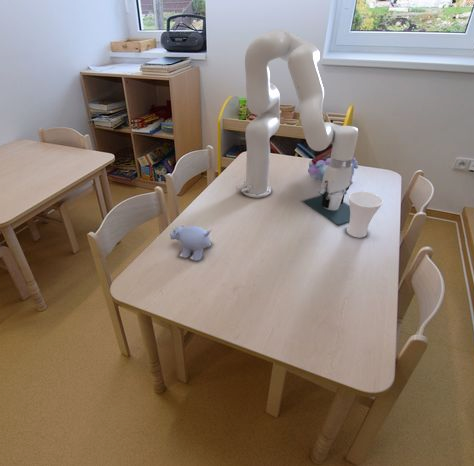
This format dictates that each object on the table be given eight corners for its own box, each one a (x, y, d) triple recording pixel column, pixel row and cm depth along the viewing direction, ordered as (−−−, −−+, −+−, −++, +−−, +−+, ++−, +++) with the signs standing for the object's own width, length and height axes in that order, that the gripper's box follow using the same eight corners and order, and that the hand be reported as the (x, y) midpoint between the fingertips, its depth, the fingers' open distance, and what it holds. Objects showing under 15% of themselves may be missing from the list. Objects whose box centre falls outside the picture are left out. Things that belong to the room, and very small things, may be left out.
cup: (373, 227, 118) (383, 194, 110) (371, 244, 110) (382, 209, 103) (342, 221, 122) (350, 189, 114) (339, 237, 114) (347, 203, 106)
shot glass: (340, 203, 132) (344, 188, 128) (340, 212, 126) (344, 196, 122) (322, 201, 134) (325, 186, 130) (321, 209, 128) (325, 194, 124)
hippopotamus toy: (180, 235, 119) (177, 213, 114) (218, 244, 114) (217, 221, 108) (165, 253, 111) (161, 229, 106) (205, 263, 106) (203, 240, 100)
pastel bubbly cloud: (334, 186, 134) (356, 145, 130) (292, 168, 148) (311, 130, 143) (351, 195, 149) (372, 158, 145) (312, 178, 163) (330, 143, 158)
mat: (338, 225, 120) (338, 224, 120) (303, 201, 135) (303, 200, 135) (364, 216, 124) (365, 215, 124) (328, 194, 139) (328, 193, 139)
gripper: (351, 153, 125) (342, 195, 135) (314, 163, 119) (308, 205, 130) (366, 160, 119) (356, 203, 129) (329, 170, 114) (321, 214, 124)
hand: (332, 204), depth 129 cm, fingers closed on shot glass, 6 cm apart
